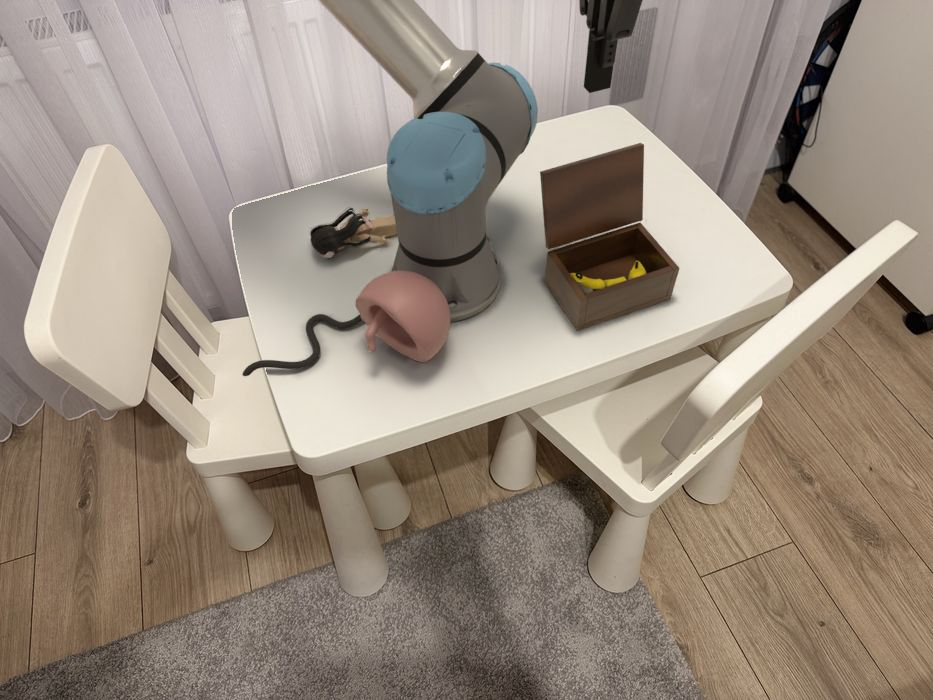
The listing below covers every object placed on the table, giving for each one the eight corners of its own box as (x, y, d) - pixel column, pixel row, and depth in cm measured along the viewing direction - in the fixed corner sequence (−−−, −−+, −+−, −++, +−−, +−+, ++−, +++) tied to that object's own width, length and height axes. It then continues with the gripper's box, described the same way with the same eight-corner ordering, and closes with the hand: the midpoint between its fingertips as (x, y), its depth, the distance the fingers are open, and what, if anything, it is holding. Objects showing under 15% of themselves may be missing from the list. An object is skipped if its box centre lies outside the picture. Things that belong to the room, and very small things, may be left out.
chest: (670, 298, 92) (679, 268, 88) (577, 331, 89) (581, 301, 85) (633, 253, 98) (640, 221, 93) (544, 282, 95) (546, 251, 90)
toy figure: (393, 209, 107) (305, 242, 102) (393, 178, 101) (299, 211, 96) (416, 238, 103) (325, 274, 98) (416, 208, 98) (320, 244, 93)
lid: (644, 144, 86) (640, 142, 87) (542, 173, 83) (539, 171, 84) (642, 220, 93) (639, 217, 93) (548, 250, 90) (545, 247, 90)
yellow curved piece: (585, 310, 89) (584, 286, 87) (569, 291, 94) (568, 268, 93) (656, 296, 90) (657, 272, 88) (637, 278, 96) (637, 255, 94)
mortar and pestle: (479, 347, 82) (402, 400, 83) (451, 305, 92) (382, 353, 92) (429, 275, 75) (345, 333, 76) (405, 238, 85) (330, 289, 86)
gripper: (704, -143, 57) (654, 108, 75) (628, -184, 65) (600, 54, 83) (624, -129, 56) (593, 124, 74) (557, -172, 63) (544, 67, 82)
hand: (596, 87), depth 79 cm, fingers closed
